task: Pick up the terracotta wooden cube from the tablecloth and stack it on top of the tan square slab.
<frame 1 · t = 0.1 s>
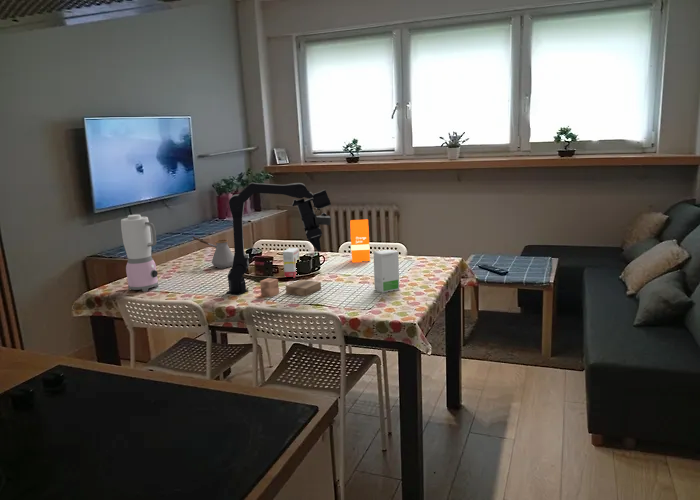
hand: (318, 248, 229), 15 cm above the table, tool pointing down, fingers open, 9 cm apart
blender: (147, 288, 241), on the table
tan square slab: (303, 291, 225), on the table
terracotta cube: (270, 294, 223), on the table
skincare box: (387, 290, 221), on the table
coffee pot: (215, 266, 275), on the table
ink box: (292, 275, 250), on the table
orange juice: (361, 260, 272), on the table
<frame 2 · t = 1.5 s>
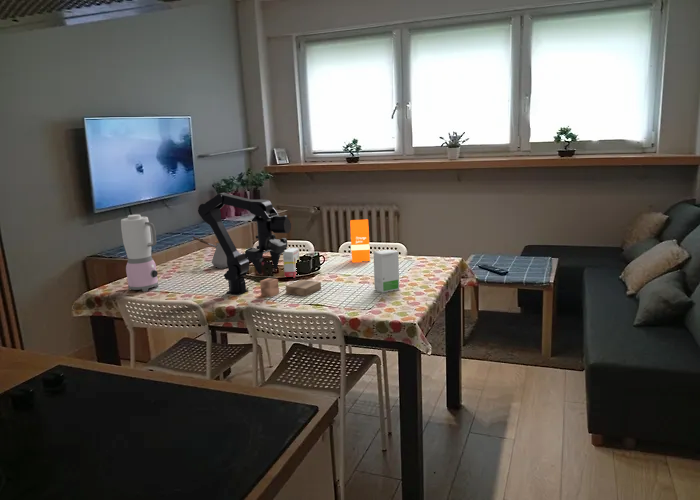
hand: (268, 271, 221), 10 cm above the table, tool pointing down, fingers open, 9 cm apart
nothing on the table moved.
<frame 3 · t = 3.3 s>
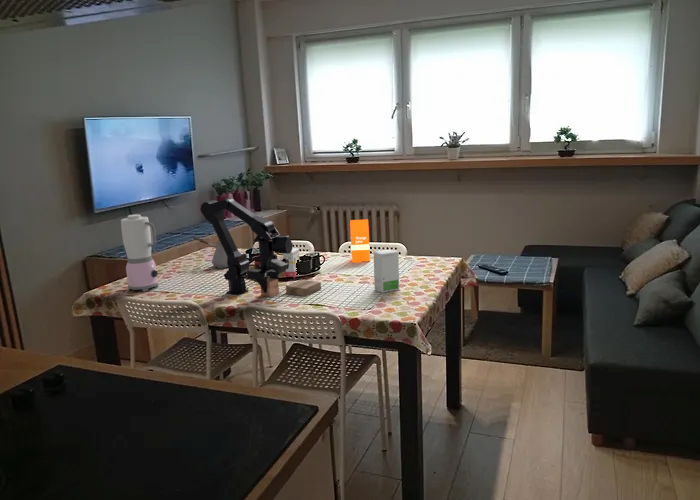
hand: (269, 290, 223), 2 cm above the table, tool pointing down, fingers closed on terracotta cube, 5 cm apart
terracotta cube: (270, 294, 223), on the table, touching gripper
everything else where it was.
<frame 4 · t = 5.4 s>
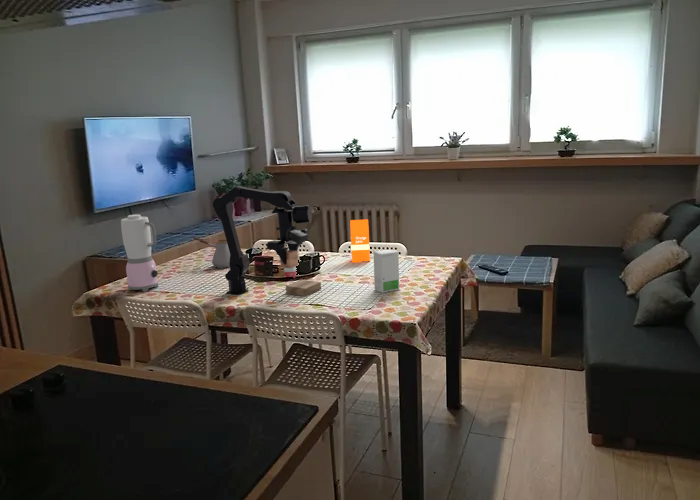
hand: (289, 262, 221), 12 cm above the table, tool pointing down, fingers closed on terracotta cube, 5 cm apart
terracotta cube: (289, 266, 222), point 11 cm above the table, touching gripper
everything else where it was.
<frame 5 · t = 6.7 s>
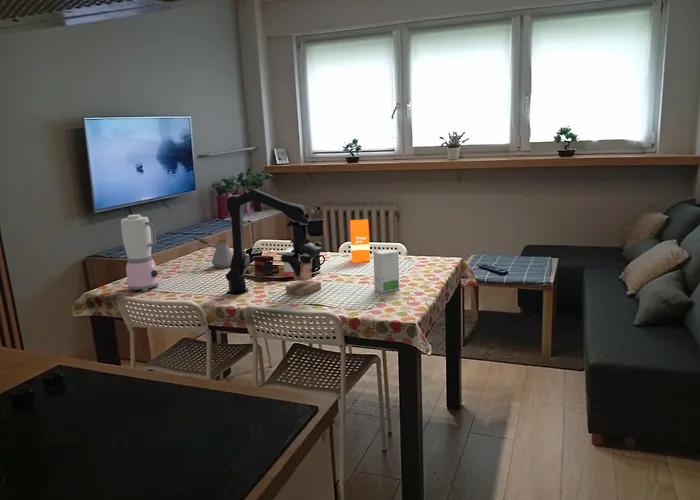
hand: (302, 275, 223), 7 cm above the table, tool pointing down, fingers closed on terracotta cube, 5 cm apart
terracotta cube: (302, 278, 224), point 5 cm above the table, touching gripper
everything else where it was.
when the fingers open (6 cm above the table, at t = 7.6 s): terracotta cube drops 1 cm, resting on tan square slab.
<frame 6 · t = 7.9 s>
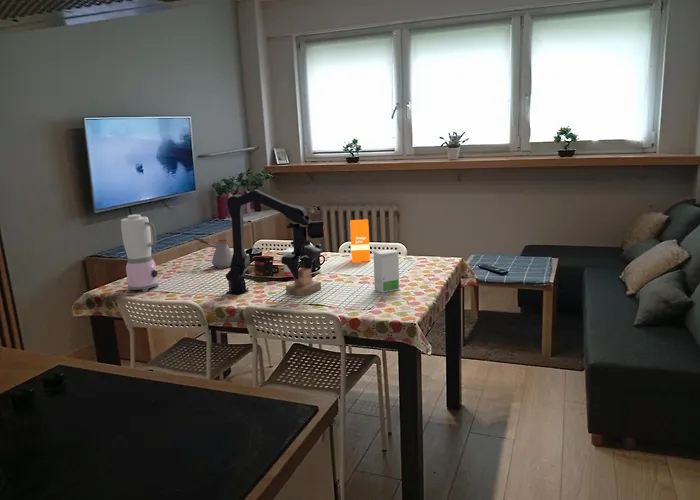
hand: (302, 276, 224), 6 cm above the table, tool pointing down, fingers open, 8 cm apart
terracotta cube: (303, 284, 224), point 3 cm above the table, touching tan square slab
everything else where it was.
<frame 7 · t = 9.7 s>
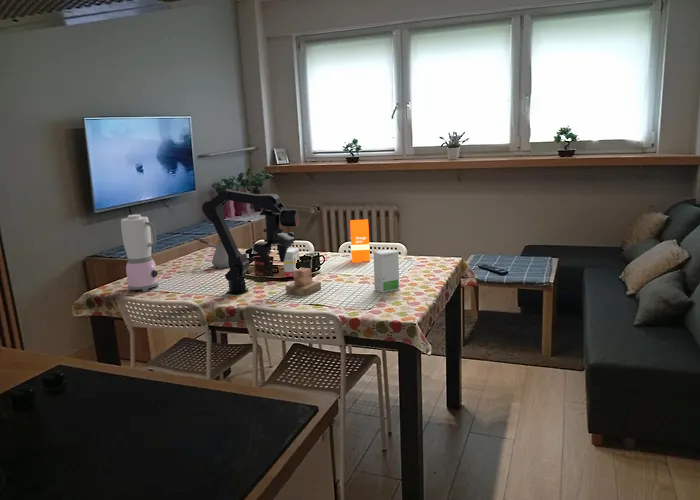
hand: (275, 264, 222), 12 cm above the table, tool pointing down, fingers open, 9 cm apart
nothing on the table moved.
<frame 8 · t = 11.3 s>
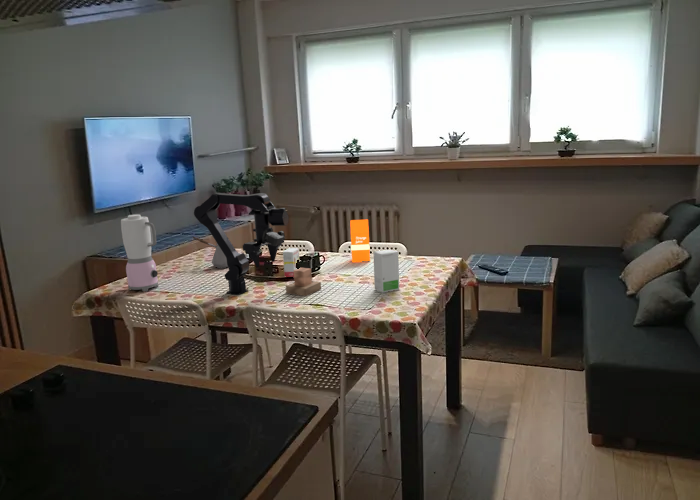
hand: (265, 264, 222), 12 cm above the table, tool pointing down, fingers open, 9 cm apart
nothing on the table moved.
at the end: terracotta cube inside the target area on the tan square slab (0.0 cm from its centre), point 3.0 cm above the tan square slab's base; terracotta cube tilted 0°; the gripper is holding nothing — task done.
